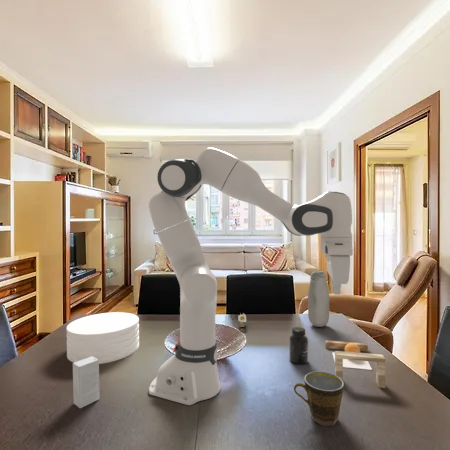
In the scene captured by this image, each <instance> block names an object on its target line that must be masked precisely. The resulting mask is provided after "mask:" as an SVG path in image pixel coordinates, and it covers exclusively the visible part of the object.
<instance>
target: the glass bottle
mask: <svg viewBox="0 0 450 450" xmlns="http://www.w3.org/2000/svg"><path fill="white" fill-rule="evenodd" d="M309 280H310V281H309V286H308V291H307V314H308V320H309V323H311V325H312V326H314V327H317V328H323V327H325V326H326V325H328V323H329V320H330V291H329V287H328V282H327V276H326V274H325V272H324V271H322V270H317V269H316V270H313V271H312V272H311V274H310V279H309Z"/></svg>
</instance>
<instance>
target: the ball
mask: <svg viewBox="0 0 450 450" xmlns="http://www.w3.org/2000/svg"><path fill="white" fill-rule="evenodd" d="M354 343H355V342H354ZM354 343H348V344H347V345H346V346H345V350H344V352H356V353H361V351H360V349H359V347H358V346H357V345H356V344H354Z"/></svg>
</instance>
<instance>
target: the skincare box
mask: <svg viewBox="0 0 450 450" xmlns="http://www.w3.org/2000/svg"><path fill="white" fill-rule="evenodd" d="M72 386H73V391H72V392H73V405H75V406H76V407H77V408H78V409H83V408H84V407H86V406H89V405H90V404H93V403H94V402H96V401H99V400H100V399H101V398H100V397H101V395H100V394H101V393H100V364H99V360H98V359H96V358H95V357H93V356H91V357H88V358H86V359H83V360H80V361H77V362H75V363H74V362H72Z"/></svg>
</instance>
